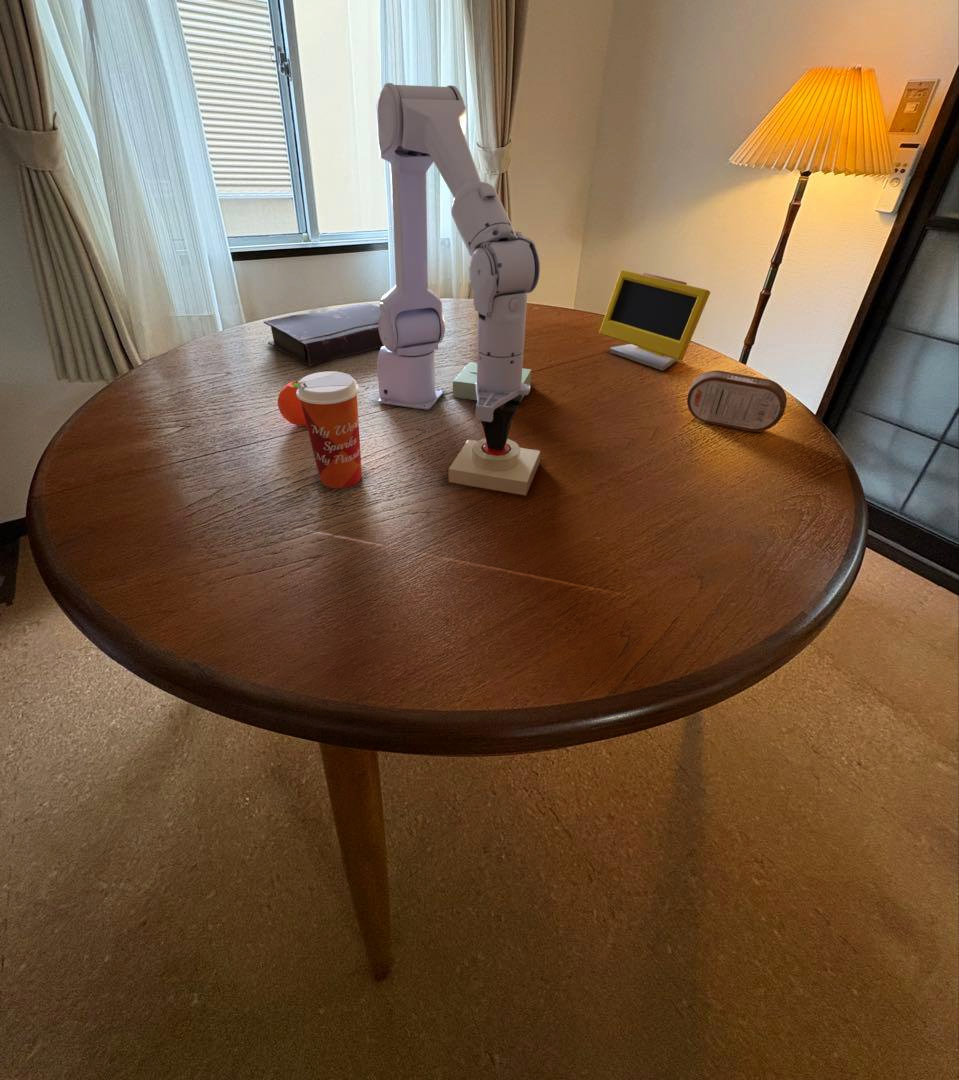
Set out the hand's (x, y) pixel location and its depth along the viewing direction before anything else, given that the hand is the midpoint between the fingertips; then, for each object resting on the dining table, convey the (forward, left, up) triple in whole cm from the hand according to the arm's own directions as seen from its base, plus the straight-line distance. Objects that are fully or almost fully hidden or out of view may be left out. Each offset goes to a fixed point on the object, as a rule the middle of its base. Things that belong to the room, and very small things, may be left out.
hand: (496, 447), depth 77 cm
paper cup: (-20, -8, -4) cm, 22 cm away
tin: (+33, +27, -4) cm, 43 cm away
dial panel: (-8, +28, -4) cm, 29 cm away
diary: (-46, +42, -4) cm, 62 cm away
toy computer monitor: (+18, +55, -4) cm, 58 cm away
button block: (0, 0, -4) cm, 4 cm away
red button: (0, 0, -2) cm, 2 cm away
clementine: (-33, +5, -4) cm, 34 cm away
